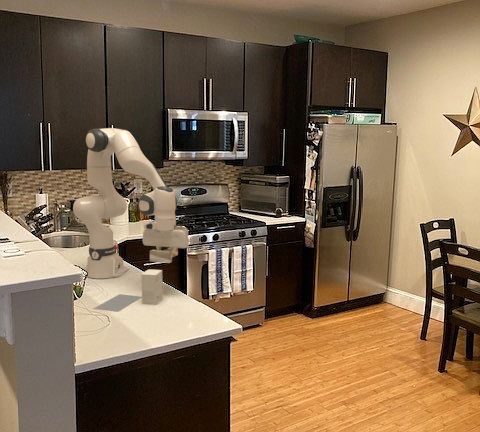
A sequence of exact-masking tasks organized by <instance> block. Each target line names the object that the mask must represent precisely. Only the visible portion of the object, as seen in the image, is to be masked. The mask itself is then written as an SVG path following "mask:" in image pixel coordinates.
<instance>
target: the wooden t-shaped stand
mask: <svg viewBox="0 0 480 432" xmlns="http://www.w3.org/2000/svg"><path fill="white" fill-rule="evenodd" d="M178 255H179V248H175V250H174V252H173V257H172V251H171V250H170V247H167V248H166V249H164V250H162V249H161V250H157V249H151V250H149V262H154V263H165V264H170V263H172V262H173V258H174V257H176V256H178Z"/></svg>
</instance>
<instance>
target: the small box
mask: <svg viewBox="0 0 480 432" xmlns="http://www.w3.org/2000/svg"><path fill="white" fill-rule="evenodd" d="M140 276H141V297H142V298H141V305H153V306H154V305H155V306H156V305H158V304H159V303H160V302H162V301H163V297H164V296H163V295H164V294H163V292H164V291H163V269H152V268H151V269H150V268H149V269H147V270H145V271H144V272H142V273H141V275H140Z"/></svg>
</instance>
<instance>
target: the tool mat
mask: <svg viewBox="0 0 480 432" xmlns="http://www.w3.org/2000/svg"><path fill="white" fill-rule="evenodd" d="M140 299H142V296H141V295H140V296H139V295H131V294H129V295H128V294H122V293H119V294H117V295H116V296H114V297H112V298H110V299H108V300H106V301H105V302H102V303H101V304H99V305H97V306H95V307H94V308H93V309H94V310H101V311H106V312H107V311H109V312H117V313H119V312H121V311H122V310H124V309H125V308H127V307H129V306H131V305H132V304H133V303H135V302H137V301H139V300H140Z"/></svg>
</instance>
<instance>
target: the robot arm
mask: <svg viewBox="0 0 480 432" xmlns="http://www.w3.org/2000/svg"><path fill="white" fill-rule="evenodd" d="M85 146H86V147H87V148H88V150H87V156H86V157H87V158H86V159H87V160H86V170H87V174H86V175H87V176H86V177H87V183H88V184H89V185H90V187H93V188H94V189H97V190H98V192H99V195H91V196H89V195H87V196H84V197H80V198H77V199H75V201H74V203H73V205H72V206H73V207H72V212H73V214H74V216H75V217H76V218H77V219H79V220H81V222H82V223H83V224H84V225H85V226H86V229H87V230H88V231H87V232H88V236H89V237H88V238H89V247H88V254H89V256H88V257H87V263H86V271H87V272H88V276H87V277H88V278H91V279H97V280H98V279H110V278H120V277H121V276H122V275H123V274H125V273H126V272H128V270H129V267H128V266H125V265H124V260H123V258H122V257H121V256H120V255H118V254H117V251H116V250H118V249H119V246H118V245H114V232H113V229H112V228H111V227H110V226H107V225H105V224H103V222H102V219H110V218H117V217H120V216H123V215H125V213H126V211H127V209H128V208H127V206H128V205H127V204H128V203H127V201H126V199H125V197H124V196H122V195H121V194H119V193H118V191H117V190H116V187H115V186H114V182H113V177H112V155H113V154H115V157H116V159H117V161H118V164H119V165H120V167H121V168H122V170H123V171H125V172H127V173H129V174H133V175H136V176H138V177H139V176H140V177H141V178H144V179H145V180H147V181H148V182H149V184H150V185H151V187H152V189H153V190H152V191H151V192H148V193H145V194H142V195H141V196H139V199H138V202H137V207H138V210H139V213H141V214H142V215H143V216H148V217H149V216H154V220H153V221H150V222H147V223H144V225H143V228H144V230H143V233H142V244H143V245H144V246H147V247H148V246H149V247H150V246H151V247H155V248H156V249H155V250H162V248H170V250H171V251H172V258H174V257H173V252H174V250H175V248H178V249H187V248H188V247H189V245H190V244H189V242H190V241H189V229H188V228H187V227H185V225H176V224H177V222H176V221H177V217H176V209H177V206H178V199H177V196H176V194H175V190H174V189H173V188H171V187H169V186H168V185H167V183H166V182H165V179H164V178H163V177H162V175H161V174H160V172H159V170H158V169H157V168H156V166H155V165H154V163H153V162H151V161H150V160H149V159H148V158H147V157H146V156H145V155H144V153H143V151H142V150H141V148H140V145H139V143H138V142H137V140H136V139H135V137H134V136H133V135H132V133H131V132H130V131H128V130H127V129H124V128H114V127H107V128H92V129H90V130H88V131H87V133H86V135H85Z"/></svg>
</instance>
